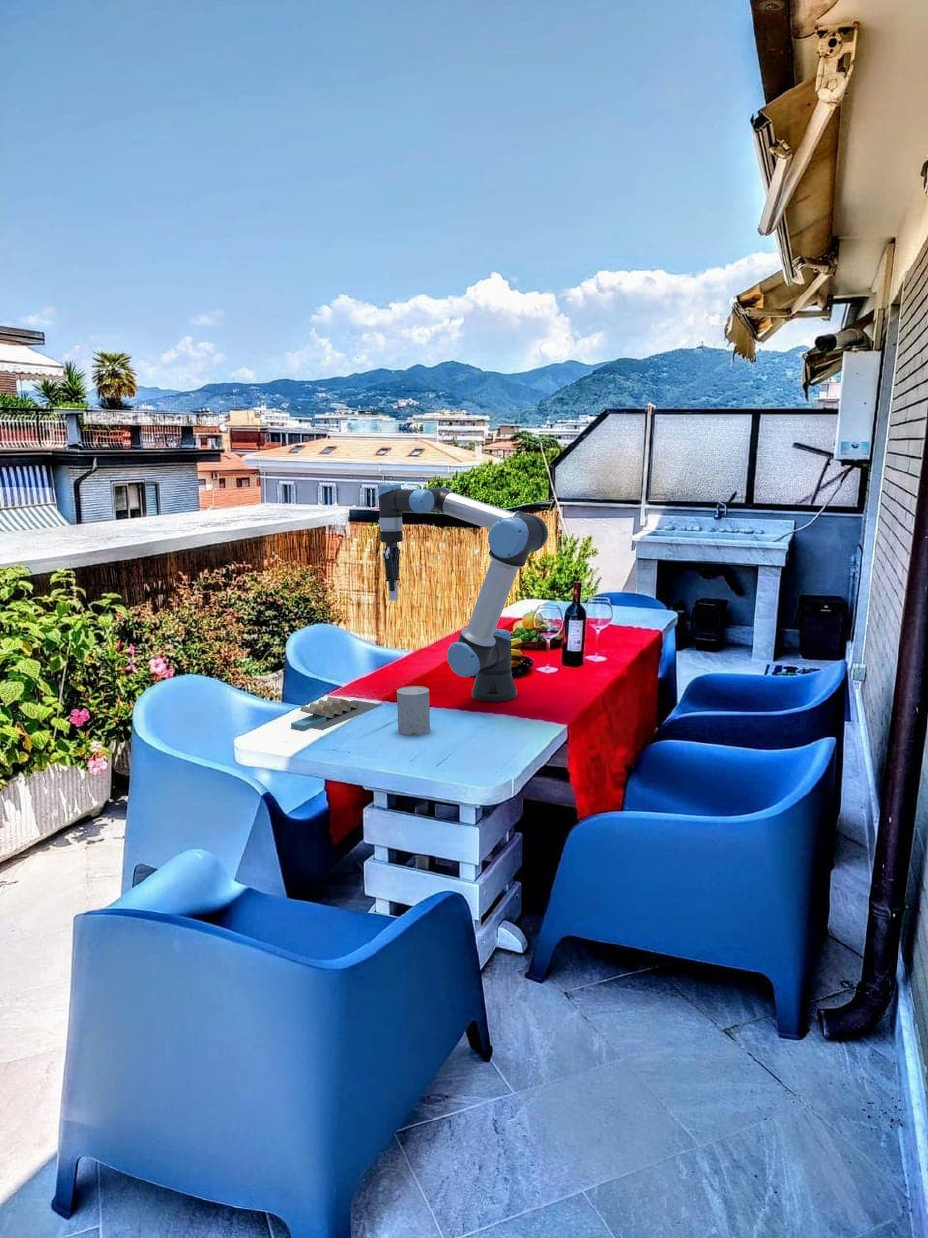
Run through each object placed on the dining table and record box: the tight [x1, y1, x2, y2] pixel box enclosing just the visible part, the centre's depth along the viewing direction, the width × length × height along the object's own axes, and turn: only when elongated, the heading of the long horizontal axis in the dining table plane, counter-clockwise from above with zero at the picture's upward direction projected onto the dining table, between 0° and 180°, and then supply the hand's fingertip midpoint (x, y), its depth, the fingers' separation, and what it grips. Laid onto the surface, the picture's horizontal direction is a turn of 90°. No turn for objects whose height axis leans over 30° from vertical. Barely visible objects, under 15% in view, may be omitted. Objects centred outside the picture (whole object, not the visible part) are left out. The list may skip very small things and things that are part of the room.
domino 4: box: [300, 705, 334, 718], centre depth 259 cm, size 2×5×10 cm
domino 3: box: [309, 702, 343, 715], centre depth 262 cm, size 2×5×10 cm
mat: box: [311, 699, 383, 731], centre depth 266 cm, size 30×12×1 cm, turn 149°
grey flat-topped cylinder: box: [396, 685, 431, 737], centre depth 251 cm, size 10×10×12 cm
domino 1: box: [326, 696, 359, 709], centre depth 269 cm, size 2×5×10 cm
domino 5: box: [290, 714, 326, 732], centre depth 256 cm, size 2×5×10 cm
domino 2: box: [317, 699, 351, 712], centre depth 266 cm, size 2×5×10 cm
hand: (393, 600), depth 287 cm, fingers closed
